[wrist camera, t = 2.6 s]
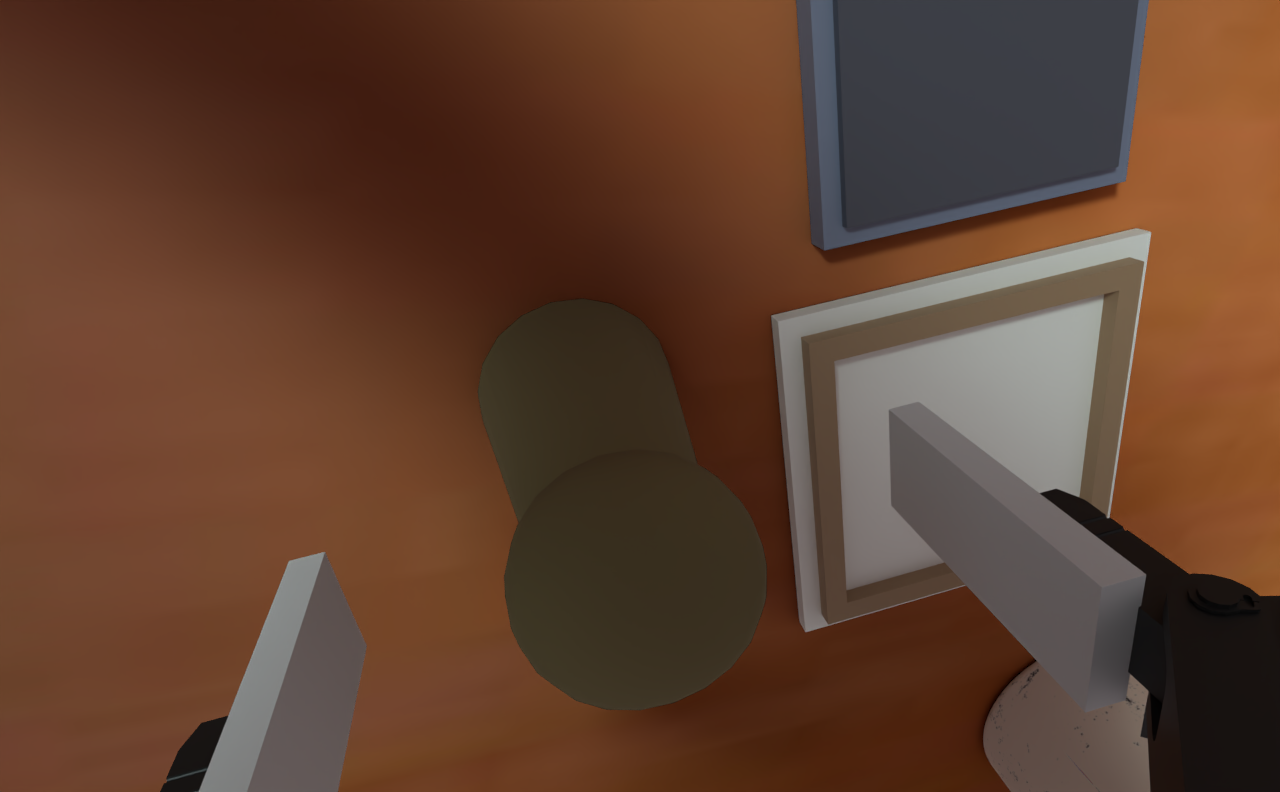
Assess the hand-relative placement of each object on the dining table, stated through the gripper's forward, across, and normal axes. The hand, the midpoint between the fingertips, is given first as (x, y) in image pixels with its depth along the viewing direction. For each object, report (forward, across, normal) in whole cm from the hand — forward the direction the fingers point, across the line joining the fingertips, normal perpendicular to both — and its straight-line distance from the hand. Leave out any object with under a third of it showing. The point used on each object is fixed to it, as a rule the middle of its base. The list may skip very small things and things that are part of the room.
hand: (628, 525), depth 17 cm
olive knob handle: (+7, 0, 0) cm, 7 cm away
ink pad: (+7, +13, +8) cm, 17 cm away
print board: (+7, +13, -5) cm, 15 cm away
